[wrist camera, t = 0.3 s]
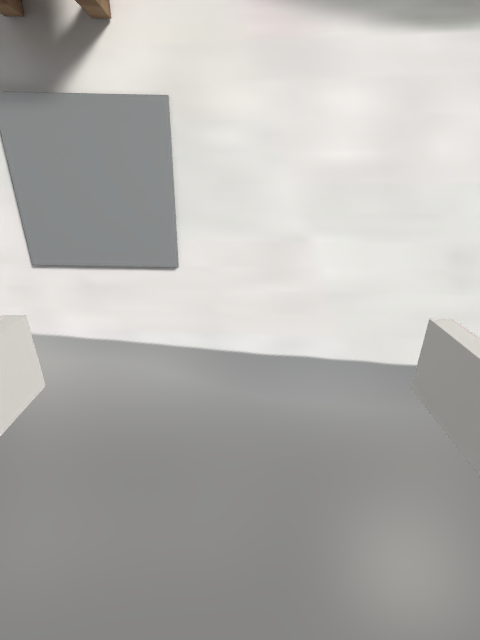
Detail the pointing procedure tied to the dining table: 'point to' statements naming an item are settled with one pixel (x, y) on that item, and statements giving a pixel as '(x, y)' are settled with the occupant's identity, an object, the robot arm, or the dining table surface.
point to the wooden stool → (93, 3)
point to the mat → (92, 177)
